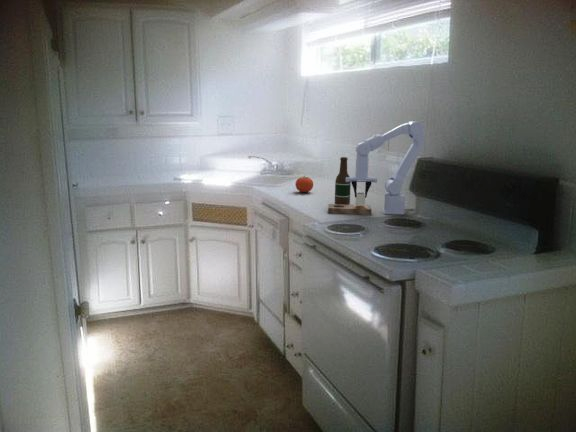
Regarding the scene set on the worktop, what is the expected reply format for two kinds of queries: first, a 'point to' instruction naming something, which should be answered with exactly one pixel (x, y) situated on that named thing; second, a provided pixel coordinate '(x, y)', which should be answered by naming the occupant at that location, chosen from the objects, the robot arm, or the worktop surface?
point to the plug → (360, 199)
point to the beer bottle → (342, 184)
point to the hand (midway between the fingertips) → (360, 197)
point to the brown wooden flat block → (349, 209)
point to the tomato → (304, 184)
